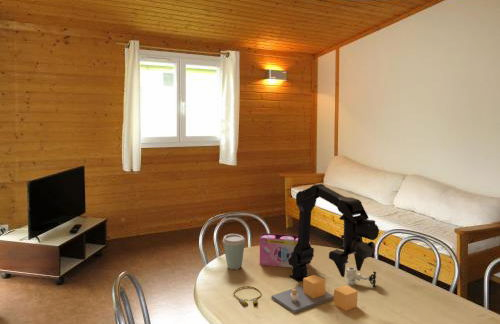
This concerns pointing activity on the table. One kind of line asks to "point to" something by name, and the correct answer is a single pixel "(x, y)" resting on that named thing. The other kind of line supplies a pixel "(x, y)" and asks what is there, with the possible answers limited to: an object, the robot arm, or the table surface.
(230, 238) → the disposable coffee cup
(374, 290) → the table surface
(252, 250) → the table surface
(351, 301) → the matte orange cube
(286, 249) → the gum box
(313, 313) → the table surface
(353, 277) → the valve
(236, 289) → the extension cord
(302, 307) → the board
